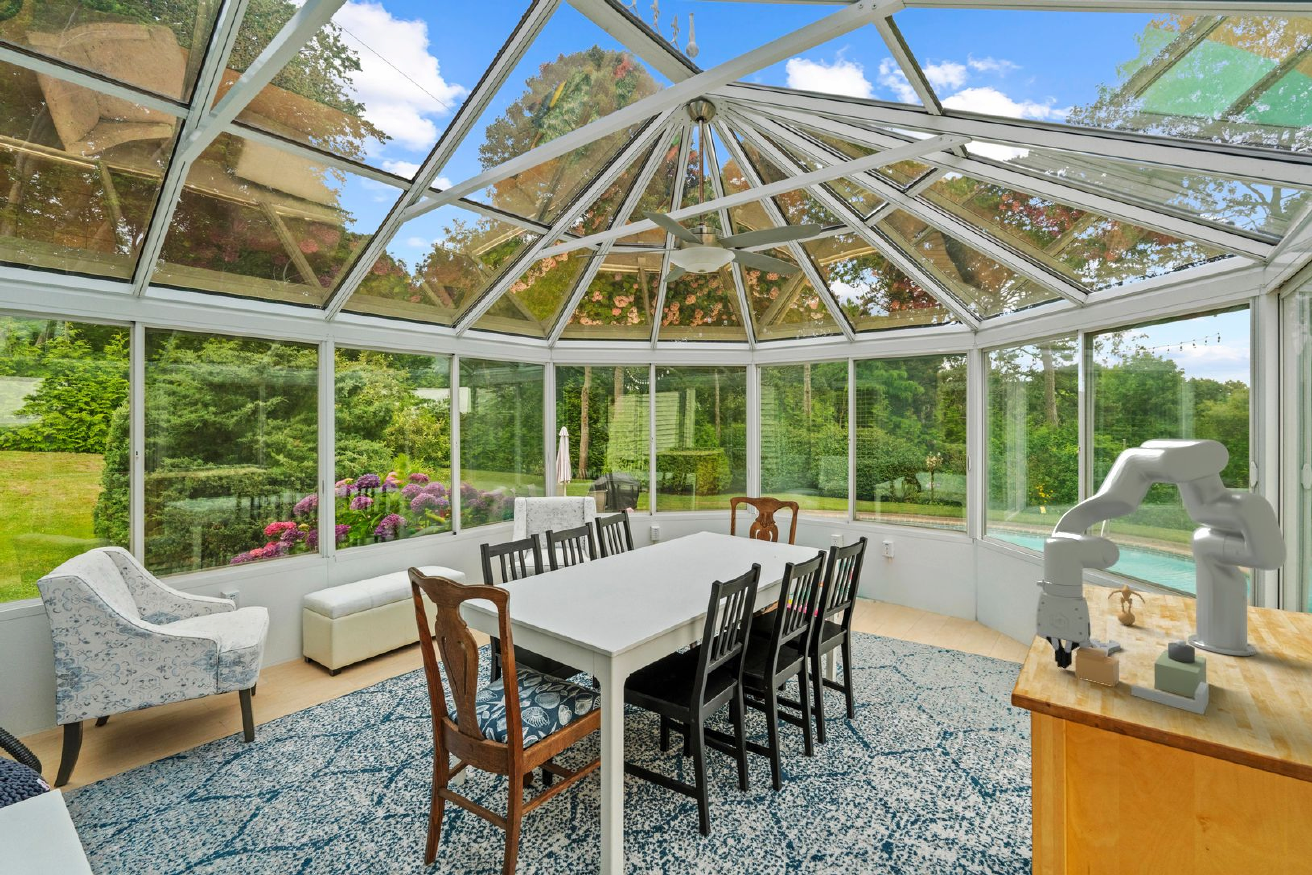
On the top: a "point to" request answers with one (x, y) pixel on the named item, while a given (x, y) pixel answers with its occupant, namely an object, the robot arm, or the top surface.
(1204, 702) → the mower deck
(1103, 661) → the stepped orange block
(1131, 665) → the top surface
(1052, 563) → the robot arm
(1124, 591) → the figurine
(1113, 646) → the adjustable wrench
